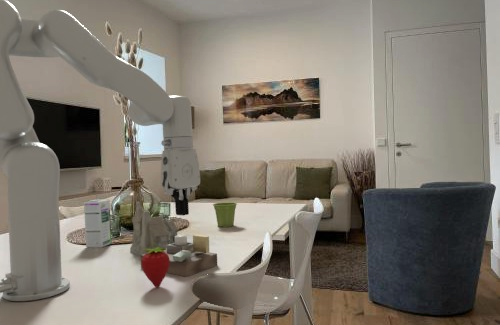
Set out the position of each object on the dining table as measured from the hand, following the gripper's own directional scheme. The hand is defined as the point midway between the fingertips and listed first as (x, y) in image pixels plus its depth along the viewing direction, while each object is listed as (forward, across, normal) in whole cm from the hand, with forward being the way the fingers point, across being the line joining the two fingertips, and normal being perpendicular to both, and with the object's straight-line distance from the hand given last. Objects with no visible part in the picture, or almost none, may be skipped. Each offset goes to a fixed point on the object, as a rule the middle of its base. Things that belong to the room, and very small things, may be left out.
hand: (182, 214), depth 107 cm
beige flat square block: (+9, 0, -6) cm, 11 cm away
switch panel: (+12, -4, -2) cm, 13 cm away
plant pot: (+14, +46, +24) cm, 54 cm away
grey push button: (+8, -1, 0) cm, 8 cm away
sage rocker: (+9, -7, -7) cm, 13 cm away
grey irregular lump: (+13, +6, +17) cm, 22 cm away
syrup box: (+12, 0, +38) cm, 40 cm away
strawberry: (+12, -18, -10) cm, 24 cm away
